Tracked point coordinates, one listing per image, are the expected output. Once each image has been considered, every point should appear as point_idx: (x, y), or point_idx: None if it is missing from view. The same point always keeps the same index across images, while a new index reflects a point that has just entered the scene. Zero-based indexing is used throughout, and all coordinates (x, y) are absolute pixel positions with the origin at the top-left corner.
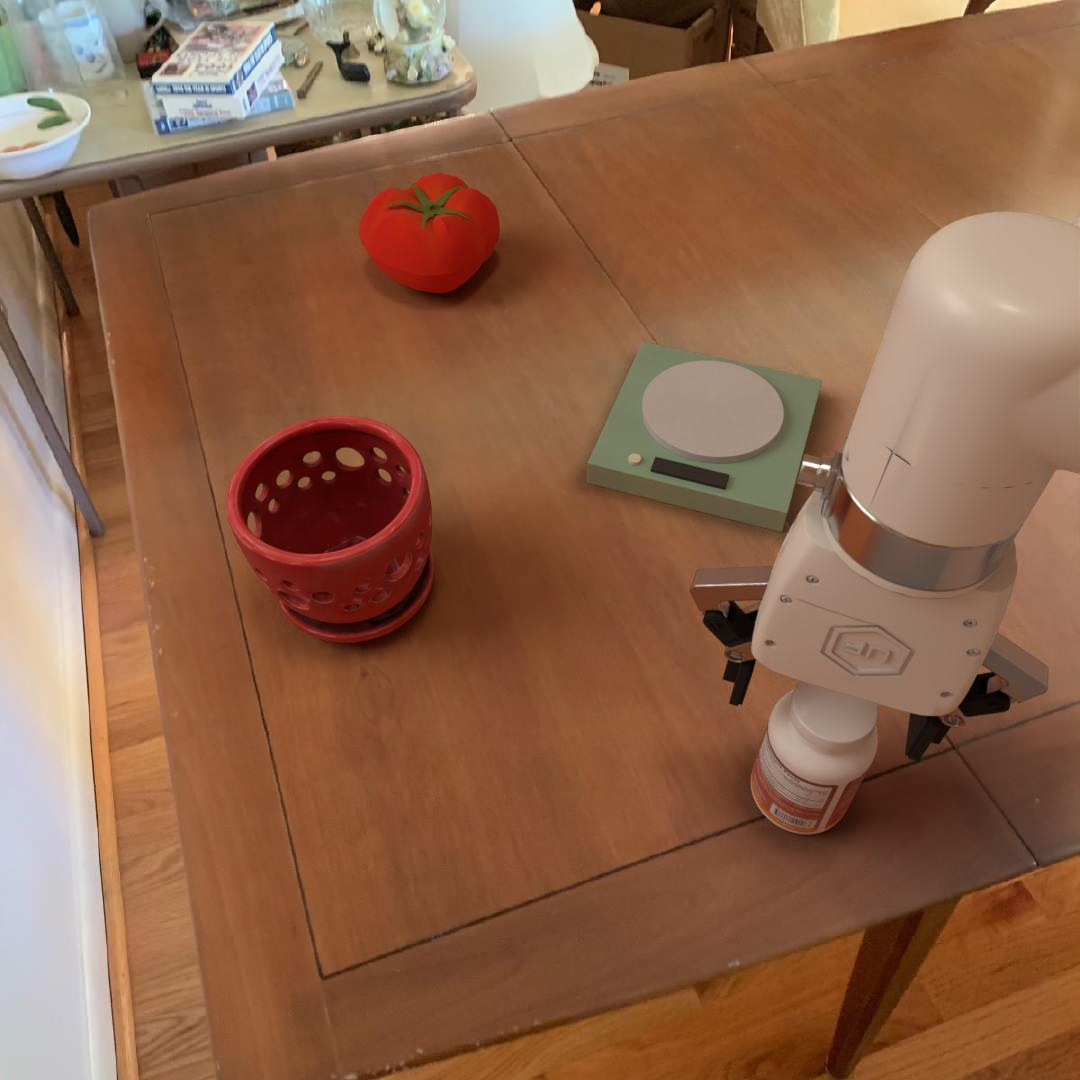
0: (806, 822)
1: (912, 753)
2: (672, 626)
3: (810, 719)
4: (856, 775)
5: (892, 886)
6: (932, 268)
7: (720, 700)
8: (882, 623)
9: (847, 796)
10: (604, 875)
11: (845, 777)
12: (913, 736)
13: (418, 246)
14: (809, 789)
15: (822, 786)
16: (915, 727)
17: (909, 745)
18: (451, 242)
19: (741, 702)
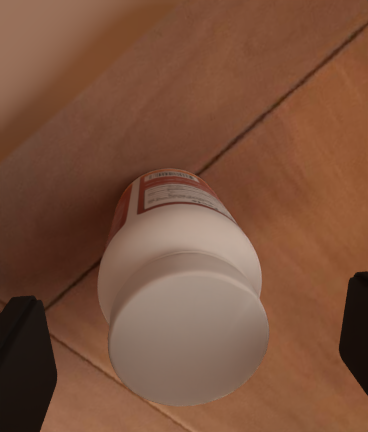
0: (155, 176)
1: (22, 309)
2: (325, 334)
3: (230, 299)
4: (115, 238)
5: (45, 152)
6: None
7: (265, 280)
8: None
9: (119, 215)
10: (348, 39)
11: (131, 227)
12: (25, 346)
13: None
14: (174, 197)
15: (159, 205)
16: (26, 367)
17: (33, 322)
18: None
19: (362, 281)
